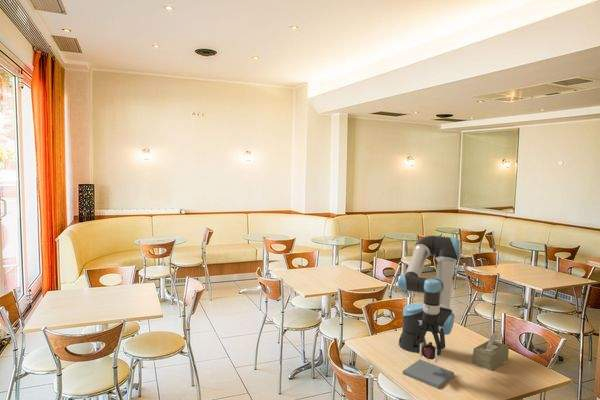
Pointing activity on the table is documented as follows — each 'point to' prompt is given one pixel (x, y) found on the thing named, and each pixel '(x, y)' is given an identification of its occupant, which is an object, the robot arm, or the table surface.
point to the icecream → (429, 351)
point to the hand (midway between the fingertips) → (428, 358)
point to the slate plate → (428, 373)
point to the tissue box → (490, 353)
